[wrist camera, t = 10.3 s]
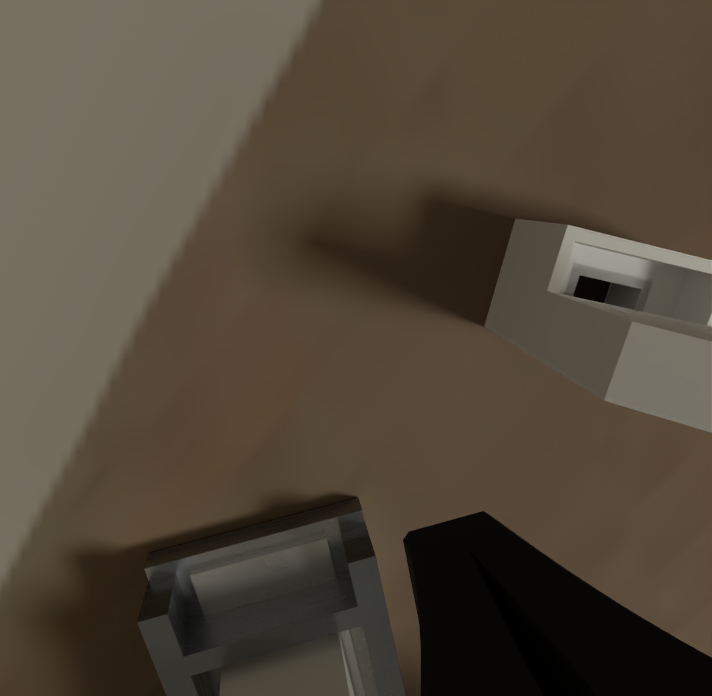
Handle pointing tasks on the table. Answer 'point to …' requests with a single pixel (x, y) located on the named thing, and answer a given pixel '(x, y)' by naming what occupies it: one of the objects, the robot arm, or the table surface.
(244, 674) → the module
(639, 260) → the white wedge bracket
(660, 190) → the table surface
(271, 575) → the rail mount
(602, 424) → the table surface
